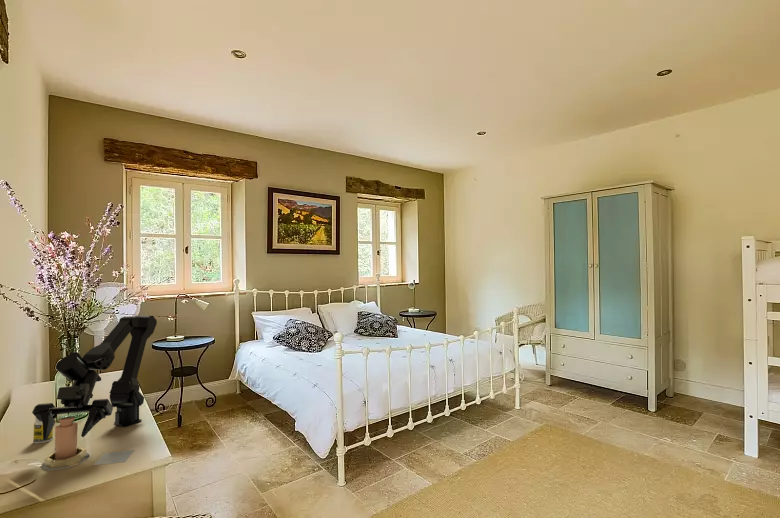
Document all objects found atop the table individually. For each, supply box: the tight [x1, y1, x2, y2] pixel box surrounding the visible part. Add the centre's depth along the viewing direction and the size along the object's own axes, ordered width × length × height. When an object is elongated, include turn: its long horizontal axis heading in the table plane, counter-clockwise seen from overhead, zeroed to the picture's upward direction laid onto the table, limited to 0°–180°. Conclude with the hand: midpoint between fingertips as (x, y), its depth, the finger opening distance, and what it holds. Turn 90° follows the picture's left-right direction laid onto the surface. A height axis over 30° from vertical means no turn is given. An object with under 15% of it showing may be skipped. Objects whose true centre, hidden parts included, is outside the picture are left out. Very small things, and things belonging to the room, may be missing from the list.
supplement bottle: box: [32, 417, 54, 445], centre depth 133 cm, size 5×5×8 cm
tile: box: [92, 449, 136, 466], centre depth 120 cm, size 8×8×1 cm
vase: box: [54, 415, 78, 460], centre depth 118 cm, size 5×5×12 cm
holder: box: [40, 446, 91, 472], centre depth 118 cm, size 11×11×3 cm
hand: (63, 438), depth 116 cm, fingers open, 9 cm apart
